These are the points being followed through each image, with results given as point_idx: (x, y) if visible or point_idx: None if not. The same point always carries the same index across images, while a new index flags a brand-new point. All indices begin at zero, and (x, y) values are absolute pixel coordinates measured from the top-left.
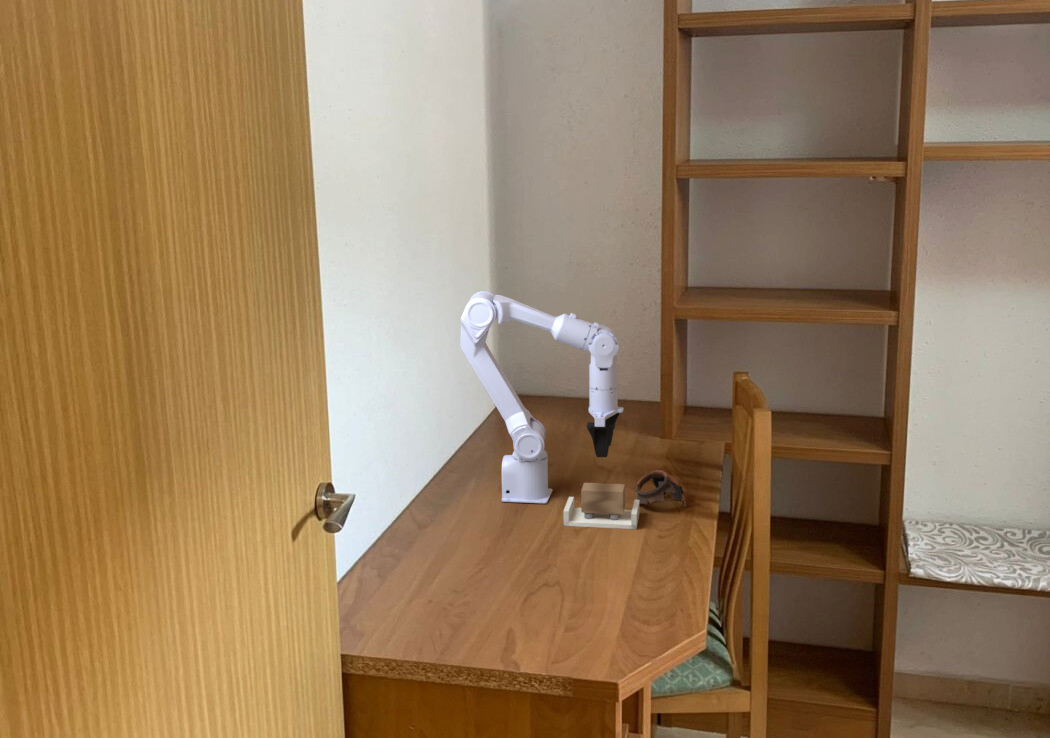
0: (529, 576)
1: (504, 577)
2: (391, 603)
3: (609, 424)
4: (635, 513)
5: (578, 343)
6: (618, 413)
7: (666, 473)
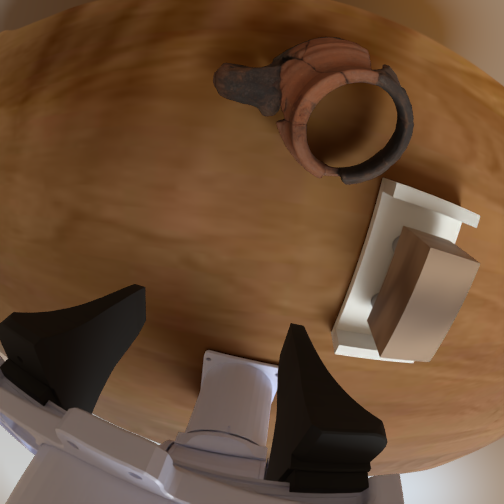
0: None
1: (500, 386)
2: (482, 438)
3: (89, 346)
4: (475, 216)
5: None
6: (36, 347)
7: (361, 70)
